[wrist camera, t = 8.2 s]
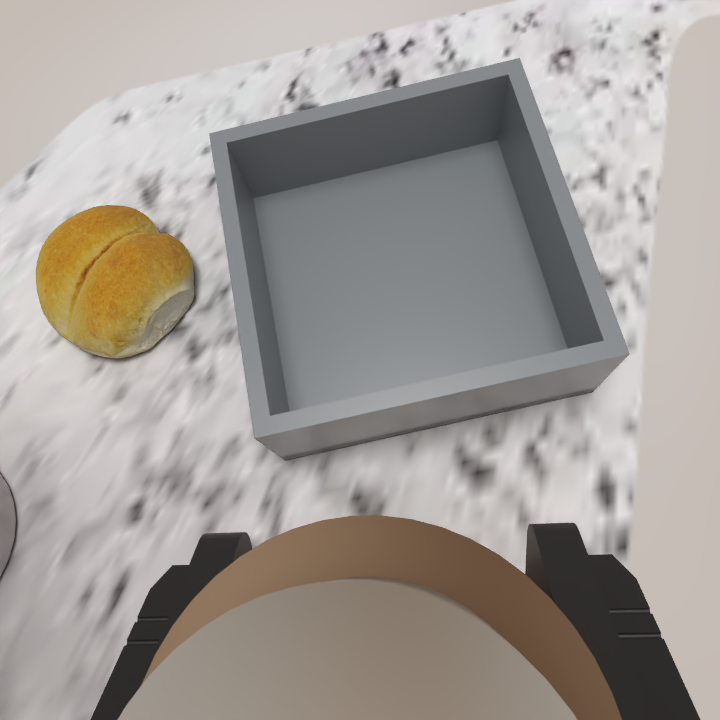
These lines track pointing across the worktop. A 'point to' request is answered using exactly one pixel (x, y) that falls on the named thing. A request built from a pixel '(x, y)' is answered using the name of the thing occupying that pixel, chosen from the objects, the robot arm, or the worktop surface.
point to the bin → (408, 263)
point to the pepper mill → (372, 635)
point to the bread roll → (113, 281)
